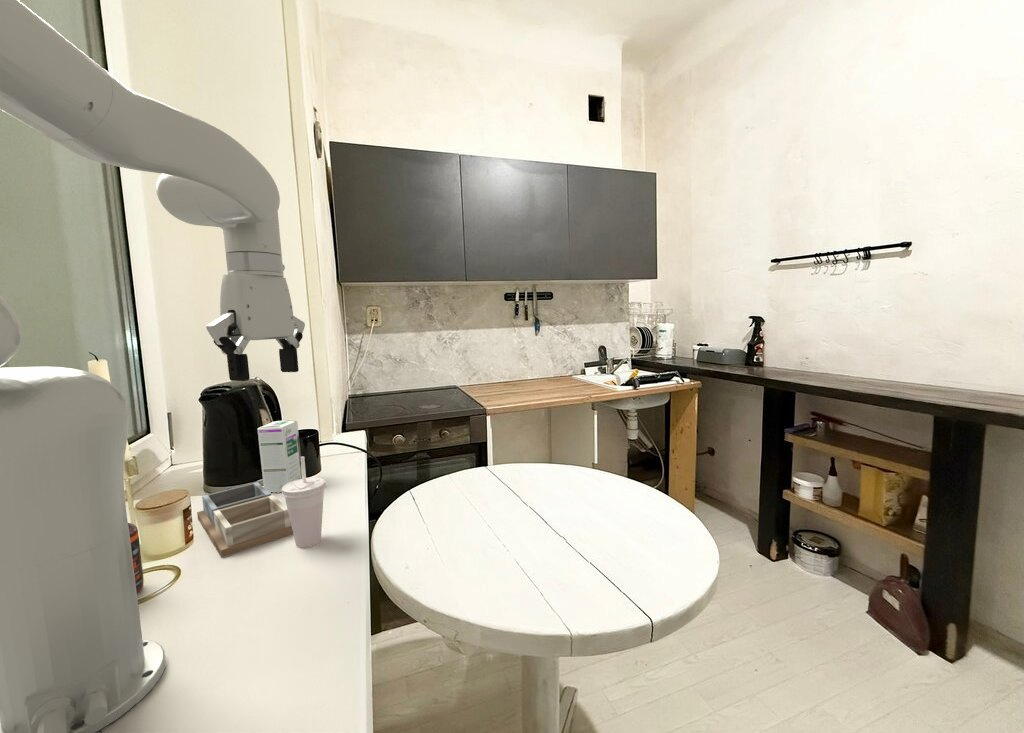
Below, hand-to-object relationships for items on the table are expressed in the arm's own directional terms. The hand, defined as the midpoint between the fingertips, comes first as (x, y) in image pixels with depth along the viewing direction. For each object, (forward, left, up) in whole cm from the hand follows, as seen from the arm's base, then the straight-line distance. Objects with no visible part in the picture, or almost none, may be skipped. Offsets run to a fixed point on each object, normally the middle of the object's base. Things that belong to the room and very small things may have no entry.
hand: (266, 375), depth 68 cm
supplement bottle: (-1, +20, -27) cm, 34 cm away
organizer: (+10, +3, -27) cm, 29 cm away
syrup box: (+24, -8, -27) cm, 37 cm away
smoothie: (-5, -3, -27) cm, 28 cm away
